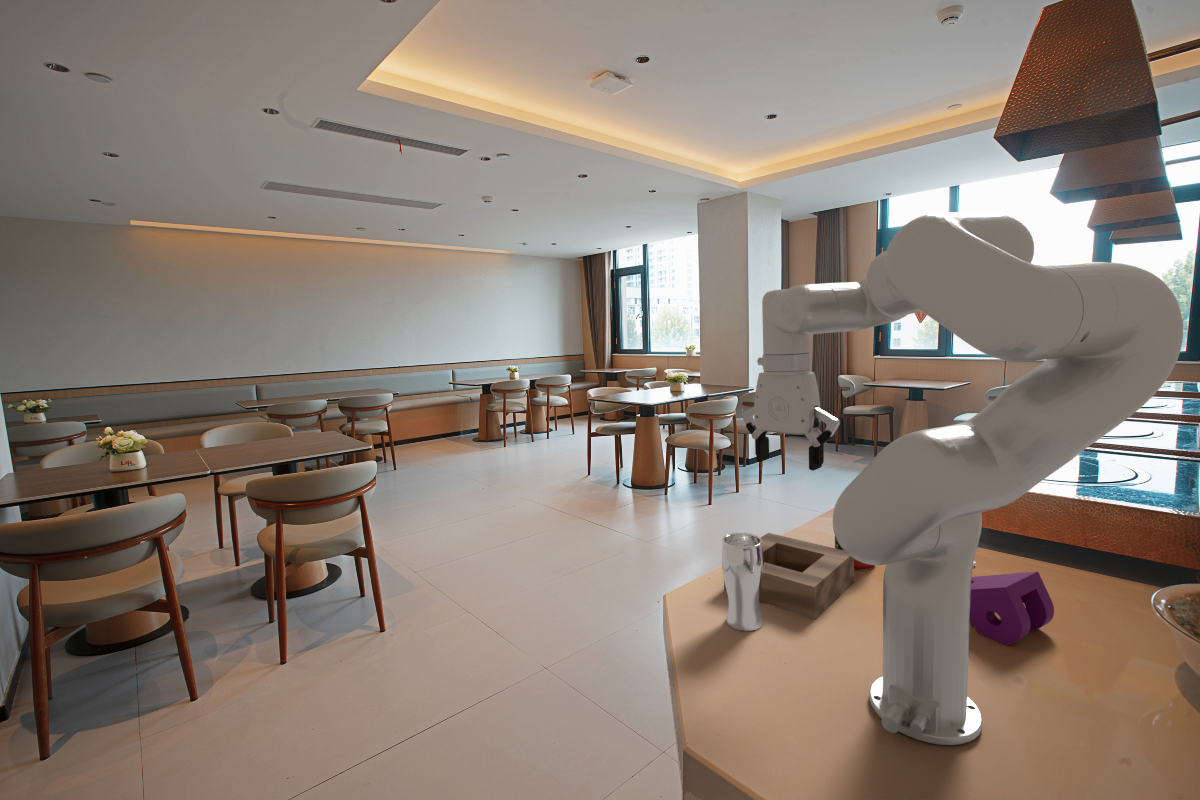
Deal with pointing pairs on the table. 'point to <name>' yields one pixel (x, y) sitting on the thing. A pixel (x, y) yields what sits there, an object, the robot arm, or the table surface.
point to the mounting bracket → (1009, 605)
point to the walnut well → (803, 575)
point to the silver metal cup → (743, 579)
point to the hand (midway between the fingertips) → (788, 464)
